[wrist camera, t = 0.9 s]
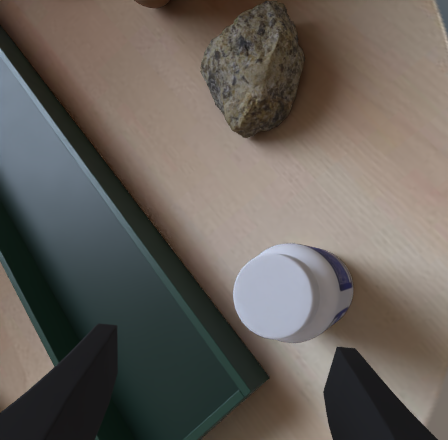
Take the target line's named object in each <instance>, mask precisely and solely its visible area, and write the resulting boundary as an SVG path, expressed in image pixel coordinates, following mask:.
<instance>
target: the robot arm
mask: <svg viewBox="0 0 448 440" xmlns="http://www.w3.org/2000/svg"><path fill="white" fill-rule="evenodd" d="M117 373H118V342H117V325H110V324H100V323H98V324H97V325H96V326H95V327H94V328H93V329H92V330H91V331H90V332H89V333H88V334H87V335H86V336H85V337H84V338H83V339H82V340H81V341H80V342H79V343H78V344H77V345H76V347H75V348H74V349H73V350H72V351H71V352H70V353H69V354H68V355H67V356H65V357H64V358H63V359H62V360H61V361H60V362H59V363H58V364H57V365H56V366H55V367H54V368H53V369H52V370H51V371H50V372H49V373H48V374H46V375H45V376H44V377H43V378H42V379H41V380H40V381H38V382H37V383H36V384H35V385H34V386H33V387H32V388H30V389H29V390H28V391H27V392H26V393H25V394H23V395H22V396H21V397H20V398H18V399H17V400H16V401H15V402H14V403H12V404H11V405H10V406H8V407H7V408H6V409H4V410H3V411H2V412H1V413H0V440H95V438H96V435H97V433H98V430H99V428H100V425H101V423H102V420H103V418H104V415H105V413H106V410H107V408H108V405H109V402H110V399H111V395H112V392H113V388H114V384H115V381H116V377H117ZM324 399H325V406H326V412H327V417H328V423H329V427H330V431H331V434H332V438H333V440H438V439H437V438H436V437H435V436H434V435H433V434H431V432H429V430H428V429H427V428H426V427H425V426H424V425H423V424H422V423H421V422H420V421H419V420H418V419H417V418H416V417H415V416H414V415H413V414H412V413H411V412H410V411H409V410H408V409H407V408H406V406H405V405H404V404H403V403H402V402H401V401H400V400H399V399H398V398H397V397H396V395H395V394H394V393H393V392H392V391H391V390H390V389H389V387H388V386H387V385H386V384H385V383H384V382H383V381H382V379H381V378H380V377H379V376H378V375H377V373H376V372H375V371H374V370H373V369H372V368H371V366H370V365H369V364H368V363H367V362H366V360H365V359H364V358H363V357H362V356H361V354H360V353H359V352H358V351H357V350H356V349H355V348H345V347H337V348H336V352H335V355H334V358H333V362H332V365H331V368H330V372H329V375H328V378H327V382H326V385H325V388H324Z"/></svg>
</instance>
